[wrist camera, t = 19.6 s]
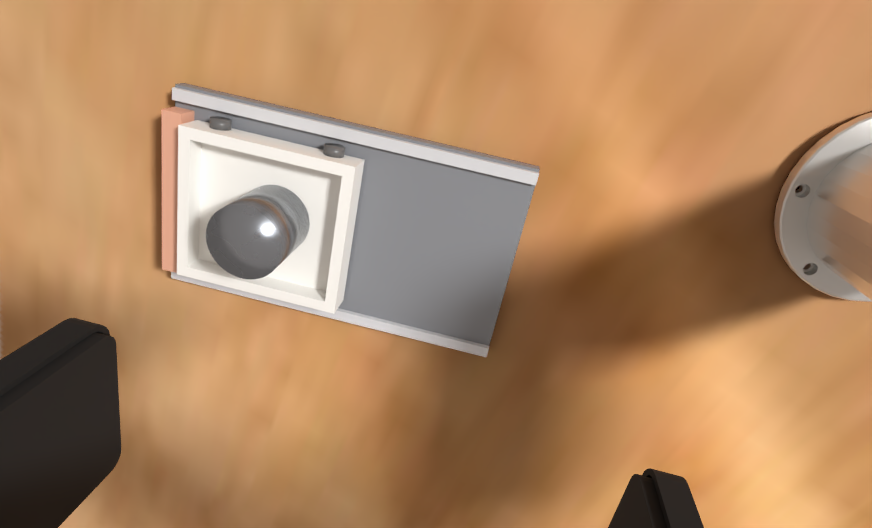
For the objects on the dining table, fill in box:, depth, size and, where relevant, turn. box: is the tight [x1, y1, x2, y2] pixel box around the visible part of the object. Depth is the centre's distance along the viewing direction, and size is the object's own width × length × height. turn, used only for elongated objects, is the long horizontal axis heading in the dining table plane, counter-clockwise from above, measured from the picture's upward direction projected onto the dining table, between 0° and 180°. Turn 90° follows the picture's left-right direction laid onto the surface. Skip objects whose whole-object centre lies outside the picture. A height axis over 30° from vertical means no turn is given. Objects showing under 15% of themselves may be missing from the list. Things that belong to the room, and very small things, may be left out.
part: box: [206, 185, 310, 279], centre depth 37 cm, size 5×5×5 cm
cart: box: [177, 116, 365, 314], centre depth 39 cm, size 12×12×2 cm
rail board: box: [162, 83, 540, 357], centre depth 39 cm, size 25×15×3 cm, turn 78°
